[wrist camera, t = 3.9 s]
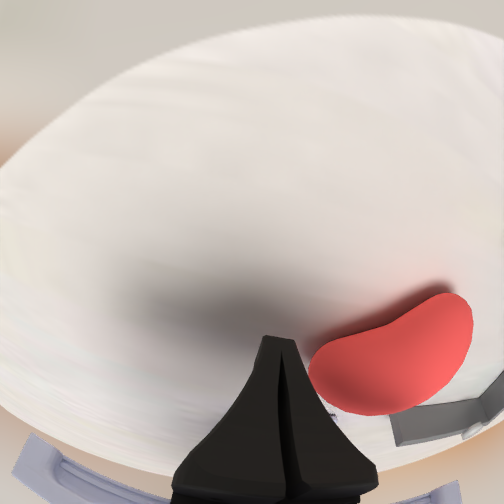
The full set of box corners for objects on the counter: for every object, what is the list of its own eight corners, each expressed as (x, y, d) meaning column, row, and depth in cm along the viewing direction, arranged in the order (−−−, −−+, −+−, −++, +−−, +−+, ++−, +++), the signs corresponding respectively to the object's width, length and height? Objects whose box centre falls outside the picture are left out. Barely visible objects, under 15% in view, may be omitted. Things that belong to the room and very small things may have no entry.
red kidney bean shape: (424, 341, 16) (488, 365, 9) (317, 409, 14) (362, 470, 8) (411, 275, 15) (486, 284, 9) (290, 343, 14) (339, 397, 8)
